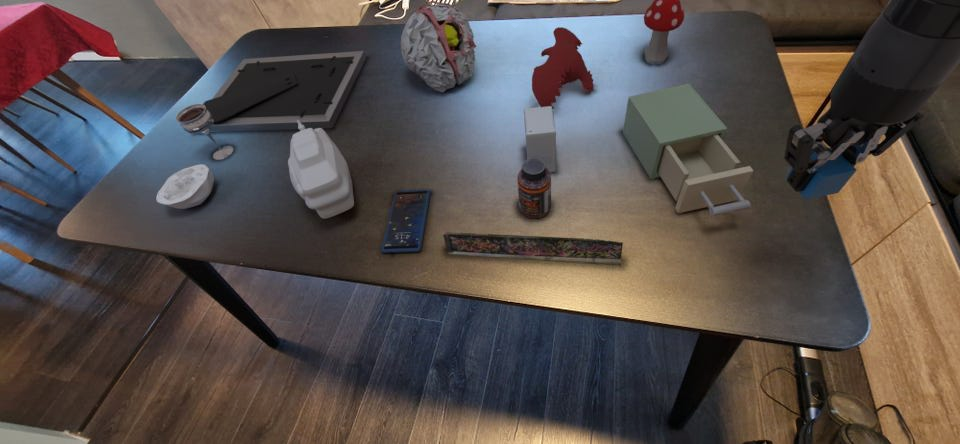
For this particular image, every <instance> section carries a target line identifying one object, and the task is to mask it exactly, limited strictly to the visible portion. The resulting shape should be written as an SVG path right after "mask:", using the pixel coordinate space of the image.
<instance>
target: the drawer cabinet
mask: <svg viewBox="0 0 960 444" xmlns="http://www.w3.org/2000/svg"><path fill="white" fill-rule="evenodd" d="M727 131H728V127H727V126H726V125H725V124H724V123H723V122H722V120H721V119H720V118H719V117H718V116H717V114H716V113H715V112H714V111H713V109H712V108H711V107H709V105H708V104H707V103H706V101H704V99H703V98H702V97H701V96H700V94H699V93H698V92H697V91H696V90H695V89H694V87H693V86H692V85H691V84H690V83H684V84H681V85H676V86H671V87H666V88H663V89H662V88H661V89H657V90H653V91H649V92H644V93H640V94H635V95H630V96H628V99H627V104H626V111H625V115H624V122H623V129H622V134H623V136H624V137H625V139H626V142H628V144H629V145H630V147H631V149H632V151H633V152H634V154H635V155H636V157H637V159H638V161H639V162H640V164H641V166H642V167H643V169H644V171H645V172H646V174H647V176H648V177H649V179H650V180H654V179H658V178H661V176H660V175H659V173H658V172H657V167H658V164H659V160H660V156H661V152H662V149H663V146H664V145H669V144H673V143H678V142H682V141H687V140H691V139H696V138H700V137H705V136H709V135H714V134H718V135H719V137H720V138H721V139H722V140H723V141H724V138H725V136H726V134H727Z"/></svg>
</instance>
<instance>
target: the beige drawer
mask: <svg viewBox="0 0 960 444" xmlns="http://www.w3.org/2000/svg"><path fill="white" fill-rule="evenodd" d="M740 164H741V160H739V158H737V156H736V155H735V153H734V152H733V151H732V150H731V149H730V147H729V146H728V145H727V144H726V142H725V141H724V139H723V140H722V139H721V138H720V137H719V135H718V134H714V135H709V136H705V137H700V138H696V139H691V140H687V141H682V142H678V143H673V144H669V145H664V146H663V149H662V152H661V156H660V160H659V164H658V167H657V172H658V173H659V175H660V176H661V177H660V178H661V180H662V181H663V183H664V185H665V186H666V188H667V189H668V191H669V193H670V194H671V196H672V198H673V199H674V200H675V202H676V204H675V207H674V210H675V211H676V212H677V214H681V213H685V212H690V211H694V210H699V209H703V208H708V213H709V215H710V216H711V217H715V216H720V215H725V214H730V213H734V212H738V211H739V212H740V211H743V210H747V209H750V208H751V202H750V201H749V200H748V199H744V197H743V196H742V194H743V192H744V190H745V188H746V186H747V184H748V183H749V181H750V179H751V177H752V175H753V173H754V169H753V168H752V167H751V165H748V166H743V167H740Z"/></svg>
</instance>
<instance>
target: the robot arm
mask: <svg viewBox="0 0 960 444" xmlns="http://www.w3.org/2000/svg"><path fill="white" fill-rule="evenodd" d="M959 64H960V0H889V1H888V3H887V4H886V5H885V7H884V9H883V10H882V11H881V13H880V14H879V16H878V17H877V18H876V19H875V20H874V22H873V23H872V24H871V26H870V27H869V28H868V30H867V31H866V32H865V34H864V36H863V37H862V39H861V41H860V42H859V43H858V45H857V47H856V48H855V50H854V52H853V53H852V55H851V57H850V58H849V59H848V62H847V63H846V64H845V66H844V68H843V69H842V72H840V75H839V76H838V78H837V80H836V81H835V82H834V84H833V86H832V87H831V90H830V105H829V108H828V109H827V110H826V111H825V113H823V114H822V115H821V116H820V117H819V118H818V120H817V121H816V123H815V124H812V125H810V126H808V127H805V128H803V126H801V125H800V124H796V125H793V126H791V128H790V129H789V130H788V135H787V140H786V145H785V150H784V156H783V159H784V160H785V162H787V164H788V165H789V166H790V167H791V168H793V170H792V172H791V174H790V175H789V176H788V178H786V182H787V183H788V184H789V185H790V187H791V188H792V189H793V190H794V192H796V193H800V192H799V191H803V190H804V189H805V188H806V187H807V185H808V184H809V182H810V181H811V180H812V178H813V177H814V175H815V174H816V173H817V172H816V171H817V170H819V169H820V168H821V167H822V166H823V165H824V164H825V163H826V162H827V161H828V160H835V159H836V158H837V157H838V156H839V155H840V154H841V155H842V156H843V157H844V158H845V159H846V160H847V161H848V162H849V163H850V164H851V165H852V166H853V167H854V168H855V166H856V165H857V164H860V163H863V162H864V161H865V160H867V158H868V156H870V155H871V156H873V157H878V156H880V155H882V154H884V152H886V151H887V150H888V149H889V148H890V147H892V146H893V145H894V144H895V143H896V142H897V141H899V140H900V139H901V138H902V137H903V136H904V135H906V133H908V132H909V131H910V130H911V129H913V127H915V126H916V125H917V124H918V123H919V122H920V121H922V120H923V119H924V118H925V115H924V114H923V113H921V112H920V110H921V109H922V108H923V106H925V104H926V103H927V102H928V101H929V99H931V97H932V96H933V95H934V93H935V92H936V91H937V90H938V89H939V87H941V85H943V83H944V82H945V81H946V79H947V78H948V77H949V76H950V74H951V73H953V71H954V70H955V69H956V68H957V66H958V65H959ZM883 135H884V137H885V138H884V139H883V140H882V141H881V142H880V140H881V138H882V136H883ZM830 147H831V148H832V149H831V150H830V149H829V148H830ZM814 152H816V153H817V155H818V157H817V158H816V159H815V160H814V161H813V160H812V159H811V157H810V156H811V155H812V154H813V153H814Z"/></svg>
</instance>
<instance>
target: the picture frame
mask: <svg viewBox="0 0 960 444" xmlns="http://www.w3.org/2000/svg"><path fill="white" fill-rule="evenodd" d="M366 60H367V55H366V53H365V51H364V50H358V51H357V50H355V51H341V52H328V53H326V52H325V53H313V54H298V55H297V54H296V55H284V56H283V55H282V56H269V57H253V58H243V59H242V60H241V62H240V63H238V65H237V66H236V68H235V69H234V70H233V71H232V73H231V74H230V76H229V77H228V78H227V79H226V81H225V82H224V83H223V84H222V86H221V87H220V88H219V90H218V91H217V92H216V93H215V95H213V97H212V98H210V99H208V100H205V101H204V102H202V104H203V105H205V107H206V110H208V111H209V112H210V113H211V114H212V116H213V119H214V123H213V127H212V128H211V129H210V132H209V133H210V134H211V133H233V132H234V133H237V132H238V133H239V132H240V133H241V132H259V131H260V132H262V131H263V132H264V131H265V132H266V131H291V130H293V131H294V130H299V129H298V122H297V120H298V121H300V123H301V124H302V125H304V126H305V129H308V128H312V129H317V128H322V129H323V130H324V129H333V128H334V126H335V125H336V122H337V120H338V118H339V116H340V114H341V113H342V110H343V108H344V106H345V103H346V101H347V99H348V97H349V96H350V93H351V91H352V89H353V87H354V84H355V83H356V81H357V78H358V76H359V74H360V72H361V70H362V68H363V66H364V64H365V61H366Z"/></svg>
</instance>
